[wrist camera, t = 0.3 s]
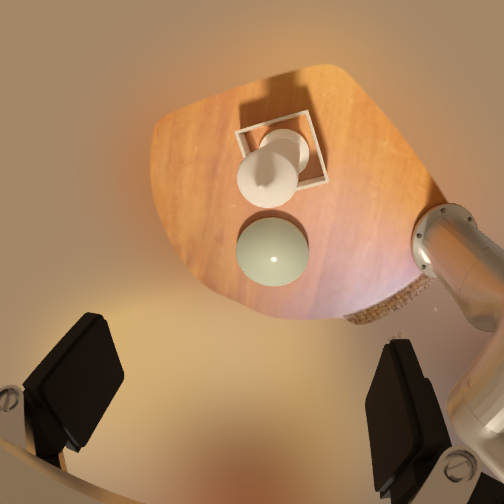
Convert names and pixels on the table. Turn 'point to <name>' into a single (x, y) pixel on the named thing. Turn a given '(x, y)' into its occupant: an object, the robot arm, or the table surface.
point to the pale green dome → (272, 251)
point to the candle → (273, 168)
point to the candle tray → (241, 135)
